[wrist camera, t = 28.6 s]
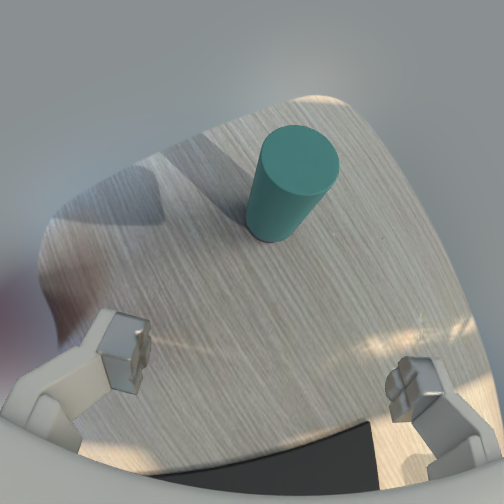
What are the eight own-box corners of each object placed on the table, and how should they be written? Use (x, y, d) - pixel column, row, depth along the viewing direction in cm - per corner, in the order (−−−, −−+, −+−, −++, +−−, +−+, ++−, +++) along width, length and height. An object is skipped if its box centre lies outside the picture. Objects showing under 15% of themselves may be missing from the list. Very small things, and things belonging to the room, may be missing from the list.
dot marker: (250, 252, 22) (273, 202, 13) (238, 205, 23) (251, 130, 13) (298, 241, 23) (350, 188, 13) (285, 196, 23) (324, 121, 14)
